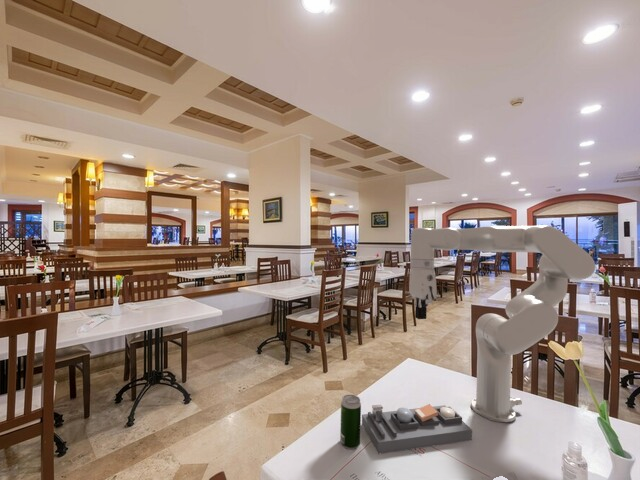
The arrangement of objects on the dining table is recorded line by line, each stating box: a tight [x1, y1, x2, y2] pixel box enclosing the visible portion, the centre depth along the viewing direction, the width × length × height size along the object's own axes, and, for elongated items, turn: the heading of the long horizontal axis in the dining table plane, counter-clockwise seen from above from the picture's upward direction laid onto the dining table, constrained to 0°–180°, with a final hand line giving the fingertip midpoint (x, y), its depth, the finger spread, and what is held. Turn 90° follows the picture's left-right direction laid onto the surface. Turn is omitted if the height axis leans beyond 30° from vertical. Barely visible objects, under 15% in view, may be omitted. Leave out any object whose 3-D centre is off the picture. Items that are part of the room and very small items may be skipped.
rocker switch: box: [414, 403, 438, 422], centre depth 85 cm, size 5×4×1 cm
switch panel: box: [361, 405, 473, 455], centre depth 84 cm, size 28×12×4 cm, turn 102°
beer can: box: [339, 394, 362, 451], centre depth 79 cm, size 5×5×12 cm
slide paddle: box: [371, 404, 384, 421], centre depth 85 cm, size 3×2×4 cm
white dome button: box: [440, 406, 456, 418], centre depth 86 cm, size 4×4×2 cm
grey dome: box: [396, 407, 412, 423], centre depth 83 cm, size 4×4×2 cm
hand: (420, 318), depth 98 cm, fingers closed
